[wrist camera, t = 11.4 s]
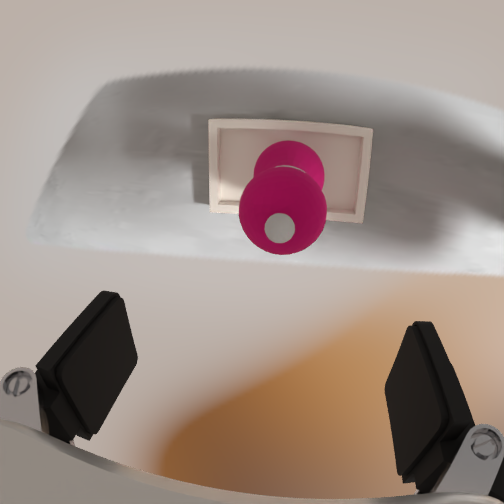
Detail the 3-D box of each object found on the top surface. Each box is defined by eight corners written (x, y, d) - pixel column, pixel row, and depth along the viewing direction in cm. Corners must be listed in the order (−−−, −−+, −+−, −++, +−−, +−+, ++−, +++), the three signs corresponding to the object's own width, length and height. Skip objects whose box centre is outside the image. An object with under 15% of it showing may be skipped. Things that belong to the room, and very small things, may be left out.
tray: (368, 127, 33) (373, 129, 31) (359, 216, 38) (362, 223, 36) (214, 118, 36) (208, 119, 33) (215, 205, 40) (209, 212, 38)
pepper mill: (246, 160, 36) (191, 218, 18) (297, 124, 34) (294, 143, 16) (283, 209, 38) (264, 307, 20) (334, 176, 36) (365, 250, 18)
